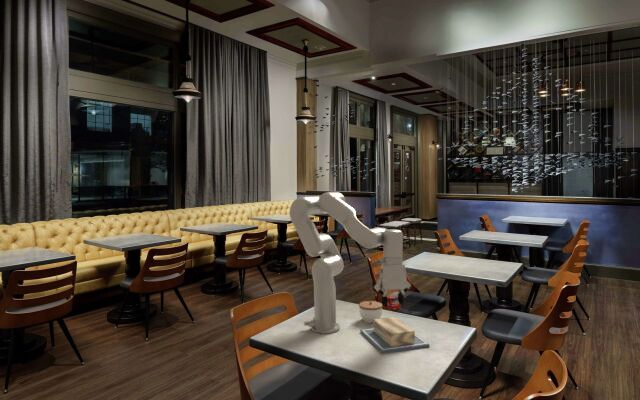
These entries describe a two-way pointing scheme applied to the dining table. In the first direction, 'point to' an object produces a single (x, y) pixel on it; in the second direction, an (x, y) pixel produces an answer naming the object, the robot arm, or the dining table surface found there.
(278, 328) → the dining table surface
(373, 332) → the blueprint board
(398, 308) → the race car
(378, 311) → the lidded jar
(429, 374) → the dining table surface
